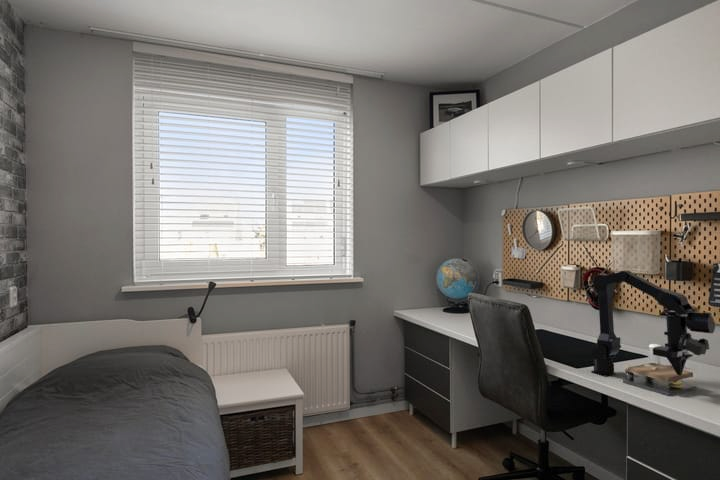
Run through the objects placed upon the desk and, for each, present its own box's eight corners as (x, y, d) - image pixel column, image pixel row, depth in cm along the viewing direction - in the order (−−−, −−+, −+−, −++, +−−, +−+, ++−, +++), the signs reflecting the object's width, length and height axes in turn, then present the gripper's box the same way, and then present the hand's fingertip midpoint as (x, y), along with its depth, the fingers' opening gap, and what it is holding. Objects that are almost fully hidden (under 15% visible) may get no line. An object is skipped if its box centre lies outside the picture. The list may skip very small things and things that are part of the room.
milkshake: (665, 367, 180) (665, 343, 180) (650, 366, 182) (650, 342, 182) (662, 364, 184) (662, 341, 185) (648, 363, 186) (647, 340, 186)
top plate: (625, 372, 162) (624, 363, 162) (649, 367, 167) (649, 359, 167) (667, 384, 148) (667, 375, 148) (693, 378, 153) (692, 369, 153)
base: (622, 382, 162) (622, 370, 162) (650, 376, 168) (649, 365, 168) (668, 396, 147) (668, 383, 147) (697, 389, 153) (697, 376, 153)
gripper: (685, 335, 140) (688, 384, 140) (719, 330, 148) (721, 376, 147) (650, 330, 151) (652, 376, 150) (683, 326, 158) (686, 369, 157)
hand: (679, 374), depth 151 cm, fingers closed
